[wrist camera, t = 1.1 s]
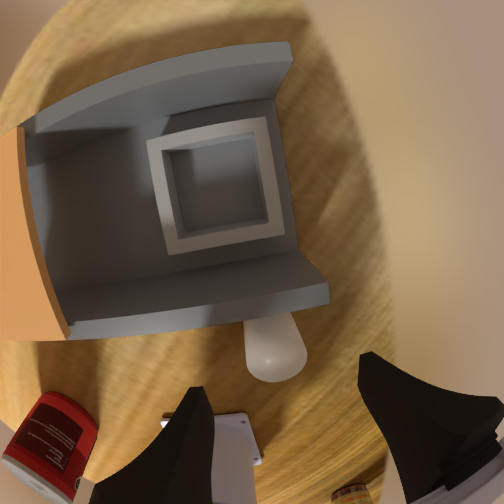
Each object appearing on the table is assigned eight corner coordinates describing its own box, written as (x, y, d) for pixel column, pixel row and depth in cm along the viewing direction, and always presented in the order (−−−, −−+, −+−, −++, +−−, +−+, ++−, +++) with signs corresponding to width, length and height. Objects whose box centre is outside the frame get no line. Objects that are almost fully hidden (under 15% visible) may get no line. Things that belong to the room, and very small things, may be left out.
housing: (297, 260, 17) (330, 303, 11) (51, 301, 17) (5, 340, 11) (268, 88, 14) (288, 41, 8) (20, 166, 14) (-38, 169, 8)
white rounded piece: (292, 331, 19) (309, 375, 14) (247, 339, 18) (251, 386, 14) (287, 290, 18) (305, 328, 13) (238, 299, 18) (240, 341, 13)
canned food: (65, 433, 21) (36, 494, 11) (31, 385, 19) (-14, 448, 8) (112, 441, 21) (87, 516, 11) (76, 392, 19) (32, 473, 9)
